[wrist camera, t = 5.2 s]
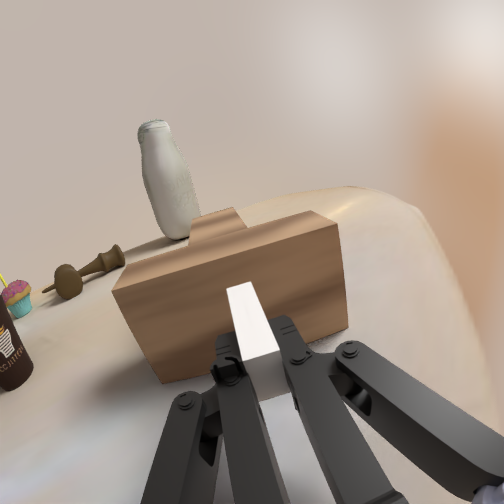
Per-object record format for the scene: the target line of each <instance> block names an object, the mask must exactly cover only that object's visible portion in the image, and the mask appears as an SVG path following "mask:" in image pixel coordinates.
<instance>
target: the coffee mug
mask: <svg viewBox="0 0 504 504" xmlns="http://www.w3.org/2000/svg"><path fill="white" fill-rule="evenodd" d="M32 371H33V363H32V361H31V359H30V357H29V355H28V353H27V352H26V350H25V348H24V346H23V344H22V342H21V340H20V337H19V335H18V333H17V331H16V329H15V327H14V324H13V322H12V320H11V317H10V315H9V313H8V310H7V308H6V305H5V303H4V300H3V297H2V294H1V293H0V386H1V387H2V388H3V389H4V390H5V391H11V390H14V389H16V388H18V387H19V386H21V385H22V384H23V383H24V382H25V381H26V380H27V379H28V378H29V376H30V375H31V373H32Z"/></svg>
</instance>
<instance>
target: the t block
mask: <svg viewBox="0 0 504 504" xmlns="http://www.w3.org/2000/svg"><path fill="white" fill-rule="evenodd" d="M250 281H251V283H252V286H253V288H254V290H255V293H256V295H257V297H258V300H259V302H260V305H261V307H262V309H263V312H264V314H265V316H266V319H267V320H269V319H272V318H275V317H278V316H281V315H286V316H288V317H290V318H291V319H292V321H293V323H294V324H295V326H296V328H297V330H298V331H299V333H300V335H301V336H302V338H303V340H304V342H305V343H306V344H307V343H310V342H313V341H315V340H318V339H321V338H323V337H326V336H328V335H331V334H334V333H336V332H339V331H341V330H344V329H346V328H348V314H347V301H346V290H345V280H344V270H343V262H342V253H341V246H340V238H339V231H338V224H337V223H336V222H333V221H331V220H329V219H327V218H325V217H323V216H321V215H319V214H317V213H315V212H313V211H307V212H303V213H299V214H296V215H292V216H289V217H285V218H281V219H278V220H274V221H271V222H267V223H264V224H260V225H257V226H253V227H250V228H247V226H246V225H245V224H244V222H243V221H242V219H241V218H240V217H239V215H238V214H237V212H236V211H235V210H234V208H233V207H231V208H228V209H224V210H220V211H217V212H214V213H210V214H207V215H204V216H200V217H197V218H194V219H192V223H191V230H190V237H189V244H188V246H186V247H183V248H179V249H176V250H173V251H170V252H167V253H163V254H160V255H157V256H154V257H151V258H147V259H144V260H141V261H138V262H135V263H132V264H129V265H127V267H126V268H125V270H124V271H123V273H122V274H121V276H120V277H119V279H118V281H117V282H116V284H115V286H114V287H113V289H112V290H111V291H112V294H113V296H114V298H115V300H116V302H117V304H118V306H119V308H120V310H121V312H122V314H123V316H124V318H125V320H126V322H127V324H128V326H129V328H130V330H131V332H132V333H133V335H134V337H135V339H136V341H137V343H138V344H139V346H140V348H141V350H142V351H143V353H144V355H145V357H146V358H147V360H148V362H149V363H150V365H151V367H152V368H153V370H154V372H155V373H156V375H157V376H158V378H159V380H160V381H161V383H162V384H165V383H170V382H174V381H179V380H184V379H188V378H192V377H197V376H201V375H205V374H209V373H211V372H210V366H211V364H212V363H213V361H215V360H216V349H215V341H216V338H217V336H218V335H221V334H225V333H228V332H232V331H235V326H234V322H233V317H232V313H231V308H230V304H229V299H228V294H227V290H226V289H227V288H230V287H234V286H237V285H240V284H244V283H247V282H250Z"/></svg>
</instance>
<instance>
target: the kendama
mask: <svg viewBox="0 0 504 504" xmlns="http://www.w3.org/2000/svg"><path fill="white" fill-rule="evenodd" d="M115 266H125V258H124V255H123V253H122V251H121V249H120V247H119V246H118V245H116V244H115V245H114V246H113V247H112V249H111V250H110V251H108V252H106V253H99V254H98V257H97V258H96V259H95V260H94V261H92V262H91V263H89V264H88V265H86V266H85V267H83V268H82V269H80V270H79V271H76V270H75V269H74V267H72V266H71V265H68V264H64V265H61V266H60V267H58V268H57V269H56V271H55V275H54V278H55V281H54V284H53V285H51V286H50V287H48V288H46V289H45V290H43V291H42V293H46V292H49V291H51V290H53V289H55V288H56V291H57V293H58V294H59V296H61V297H62V298H64V299H72V298H74V297H76V296H77V295H79V294H80V293H81V291H82V288H83V282H82V278H81V277H83V276H86V275H89V274H92V273H96V272H100V271H105V272H108V271H109V269H110V268H112V267H115Z"/></svg>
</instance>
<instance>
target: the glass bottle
mask: <svg viewBox="0 0 504 504" xmlns="http://www.w3.org/2000/svg"><path fill="white" fill-rule="evenodd" d="M138 141H139V144H140V148H141V153H142V176H143V181H144V185H145V188H146V191H147V194H148V197H149V199H150V202H151V205H152V208H153V211H154V214H155V217H156V220H157V223H158V225H159V227H160V229H161V230H162V232H163V233H164V235H165V236H166V237H168V238H170V239H174V240H177V239H183V238H186V237H188V236H190V230H191V223H192V219H194V218H197V217H200V209H199V205H198V202H197V198H196V194H195V191H194V188H193V183H192V180H191V176H190V172H189V169H188V166H187V163H186V161H185V159H184V157H183V155H182V153H181V152H180V150H179V149H178V147H177V145H176V143H175V141H174V139H173V137H172V135H171V131H170V128H169V126H168V124H167V123H166V122H165V121H163V120H158V119H155V120H150V121H147V122H145V123H143V124H142V125H141V126H140V128H139V130H138Z"/></svg>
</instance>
